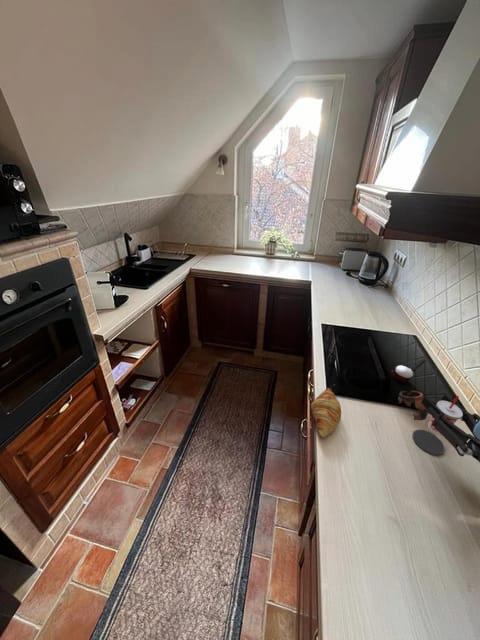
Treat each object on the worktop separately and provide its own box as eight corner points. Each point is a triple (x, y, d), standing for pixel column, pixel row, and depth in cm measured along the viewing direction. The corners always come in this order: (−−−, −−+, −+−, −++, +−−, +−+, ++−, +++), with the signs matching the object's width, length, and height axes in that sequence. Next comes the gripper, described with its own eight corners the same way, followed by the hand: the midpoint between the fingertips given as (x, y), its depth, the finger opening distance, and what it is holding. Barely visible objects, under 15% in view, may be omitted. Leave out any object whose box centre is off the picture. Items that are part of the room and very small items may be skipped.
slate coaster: (437, 433, 84) (437, 432, 84) (448, 458, 77) (449, 457, 76) (408, 427, 86) (409, 426, 85) (417, 451, 78) (417, 450, 78)
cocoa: (387, 379, 105) (397, 356, 99) (390, 370, 110) (400, 348, 104) (413, 389, 101) (426, 366, 95) (415, 380, 105) (427, 357, 99)
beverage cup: (422, 428, 78) (442, 396, 70) (427, 416, 81) (447, 385, 74) (446, 441, 74) (469, 409, 67) (450, 429, 78) (473, 396, 70)
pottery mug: (406, 422, 88) (402, 399, 87) (395, 411, 97) (392, 390, 97) (445, 420, 85) (442, 396, 85) (430, 409, 94) (427, 387, 94)
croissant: (328, 449, 82) (346, 440, 77) (303, 431, 82) (319, 421, 77) (332, 400, 98) (347, 390, 94) (311, 385, 98) (325, 375, 94)
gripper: (467, 489, 59) (401, 409, 79) (536, 479, 62) (455, 404, 81) (484, 471, 55) (410, 392, 75) (556, 462, 58) (466, 387, 77)
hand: (433, 398), depth 78 cm, fingers closed on beverage cup, 6 cm apart
